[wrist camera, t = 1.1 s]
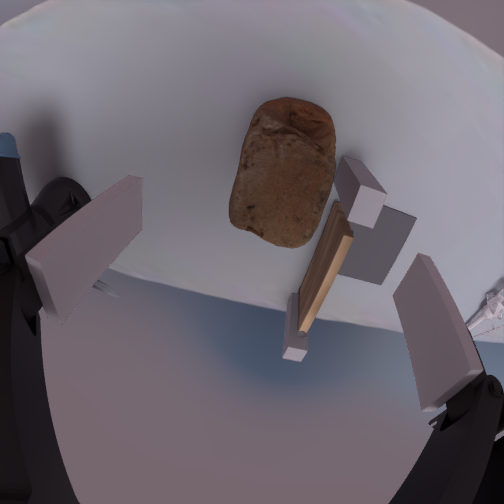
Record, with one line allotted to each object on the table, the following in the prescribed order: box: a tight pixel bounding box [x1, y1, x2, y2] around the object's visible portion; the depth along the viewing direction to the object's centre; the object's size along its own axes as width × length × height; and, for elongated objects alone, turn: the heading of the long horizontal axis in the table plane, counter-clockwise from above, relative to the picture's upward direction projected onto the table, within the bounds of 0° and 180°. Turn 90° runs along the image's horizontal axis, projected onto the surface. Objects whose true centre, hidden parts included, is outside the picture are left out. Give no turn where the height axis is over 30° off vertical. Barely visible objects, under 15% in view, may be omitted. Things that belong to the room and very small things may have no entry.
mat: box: [337, 205, 417, 285], centre depth 41 cm, size 11×14×1 cm
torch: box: [467, 287, 504, 338], centre depth 43 cm, size 6×9×25 cm
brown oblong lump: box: [229, 97, 336, 248], centre depth 26 cm, size 11×8×20 cm
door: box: [297, 202, 354, 338], centre depth 39 cm, size 2×18×10 cm, turn 168°
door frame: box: [282, 155, 388, 361], centre depth 37 cm, size 3×28×12 cm, turn 169°
